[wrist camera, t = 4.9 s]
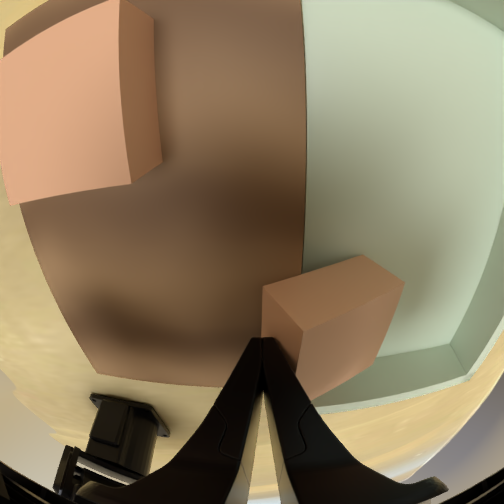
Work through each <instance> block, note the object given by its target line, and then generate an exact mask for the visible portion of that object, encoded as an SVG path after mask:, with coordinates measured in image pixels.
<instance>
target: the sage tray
mask: <svg viewBox="0 0 504 504" xmlns="http://www.w3.org/2000/svg"><path fill="white" fill-rule="evenodd" d="M300 3H301V15H302V29H303V46H304V68H305V104H306V167H305V206H304V230H303V250H302V266H301V274H304V273H307V272H311V271H314V270H317V269H320V268H323V267H326V266H329V265H332V264H335V263H339V262H342V261H345V260H348V259H351V258H354V257H357V256H360V255H365V256H366V257H368V258H369V259H371V260H372V261H374V262H375V263H377V264H378V265H380V266H381V267H383V268H384V269H386V270H387V271H389V272H390V273H392V274H393V275H395V276H396V277H398V278H399V279H401V280H402V281H404V282H405V285H404V288H403V291H402V294H401V297H400V300H399V302H398V305H397V308H396V311H395V313H394V316H393V318H392V321H391V323H390V326H389V328H388V331H387V333H386V336H385V338H384V340H383V343H382V345H381V347H380V350H379V352H378V354H377V356H376V358H375V361H374V363H373V365H371V366H370V367H368V368H367V369H365V370H363V371H362V372H360V373H359V374H357V375H355V376H354V377H352V378H351V379H349V380H347V381H345V382H344V383H342V384H340V385H339V386H337V387H335V388H333V389H332V390H330V391H328V392H326V393H324V394H323V395H321V396H319V397H317V398H315V399H313V400H311V404H313V405H314V407H315V409H316V410H317V412H318V413H319V414H329V413H337V412H344V411H351V410H357V409H363V408H369V407H374V406H379V405H384V404H389V403H394V402H398V401H402V400H406V399H410V398H414V397H418V396H422V395H425V394H429V393H432V392H436V391H439V390H442V389H445V388H448V387H451V386H454V385H457V384H460V383H463V382H466V381H468V380H470V379H471V377H472V376H473V375H474V373H475V372H476V371H477V369H478V368H479V366H480V365H481V364H482V362H483V361H484V359H485V358H486V356H487V355H488V353H489V352H490V350H491V349H492V347H493V346H494V344H495V343H496V341H497V339H498V338H499V336H500V334H501V333H502V331H503V329H504V0H300Z"/></svg>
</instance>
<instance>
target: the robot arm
mask: <svg viewBox="0 0 504 504" xmlns="http://www.w3.org/2000/svg"><path fill="white" fill-rule="evenodd" d="M263 392H264V400H265V406H266V413H267V419H268V426H269V432H270V438H271V445H272V451H273V457H274V463H275V470H276V476H277V482H278V486H279V487H278V488H279V494H280V500H281V504H431V500H430V499H431V498H433V497H436V496H438V495H440V494H442V493H444V492H447V491H448V490H449V489H448V488H447V486H446V485H445V484H444V483H443V482H442V481H440V480H439V479H438V478H437V477H430V478H427V479H424V480H422V481H419V482H416V483H413V484H402V483H398V482H396V481H394V480H392V479H390V478H388V477H386V476H384V475H382V474H380V473H378V472H376V471H374V470H372V469H370V468H369V467H367V466H365V465H363V464H362V463H360V462H359V461H358V460H357V459H355V458H354V457H353V456H352V455H351V453H350V452H349V451H348V450H347V449H346V448H345V447H344V445H343V444H342V443H341V442H340V441H339V440H338V438H337V437H336V436H335V435H334V434H333V433H332V431H331V430H330V429H329V427H328V426H327V425H326V424H325V422H324V421H323V419H322V418H321V416H320V415H319V413H318V412H317V410H316V409H315V407H314V405H313V404H311V400H310V399H309V397H308V395H307V394H306V392H305V390H304V389H303V387H302V385H301V384H300V382H299V380H298V378H297V377H296V375H295V373H294V372H293V370H292V368H291V366H290V365H289V363H288V361H287V360H286V358H285V356H284V354H283V353H282V351H281V349H280V347H279V346H278V344H277V342H276V341H275V339H274V338H273V337H263V338H261V337H252V338H251V339H250V340H249V342H248V344H247V346H246V348H245V349H244V351H243V353H242V355H241V357H240V358H239V360H238V362H237V364H236V366H235V367H234V369H233V371H232V373H231V375H230V376H229V378H228V380H227V382H226V383H225V385H224V387H223V389H222V390H221V392H220V394H219V396H218V397H217V399H216V401H215V403H214V405H213V406H212V408H211V409H210V411H209V413H208V414H207V416H206V417H205V419H204V420H203V422H202V424H201V425H200V426H199V428H198V429H197V430H196V431H195V433H194V434H193V435H192V436H191V438H190V439H189V440H188V441H187V442H186V444H185V445H184V446H183V447H182V448H181V450H180V451H179V452H178V453H177V454H176V455H175V457H174V458H173V459H172V460H171V461H170V462H168V463H167V464H166V465H165V466H163V467H162V468H160V469H158V470H156V471H155V472H153V473H151V474H149V472H150V467H151V462H152V457H153V452H154V448H155V443H156V438H157V436H161V437H170V432H169V431H168V429H167V428H166V427H165V425H164V424H163V422H162V421H161V420H160V418H159V417H158V415H157V414H156V412H155V411H154V409H153V408H152V407H151V406H149V405H145V404H139V403H133V402H127V401H122V400H117V399H112V398H108V397H103V396H99V395H95V394H91V395H90V397H89V399H90V400H91V401H92V402H93V403H94V405H95V406H96V407H97V408H98V412H97V414H96V417H95V420H94V423H93V426H92V429H91V432H90V434H89V437H90V438H89V441H88V444H87V448H86V451H85V452H83V451H81V449H79V448H77V447H76V446H75V447H74V448H73V447H70V446H68V445H66V446H65V449H64V452H63V455H62V458H61V461H60V464H59V467H58V470H57V474H56V477H55V481H54V484H53V489H54V491H55V492H56V493H55V492H53V491H51V490H49V489H47V488H45V487H43V486H41V485H40V484H38V483H36V482H34V481H33V480H31V479H29V478H27V477H26V476H24V475H22V474H20V473H18V472H17V471H16V470H14V469H12V468H11V467H9V466H8V465H6V464H5V463H3V462H2V461H0V504H247V501H248V495H249V489H250V488H249V487H250V482H251V476H252V469H253V463H254V456H255V449H256V442H257V435H258V428H259V421H260V413H261V406H262V398H263ZM77 462H79V463H81V464H83V465H86V466H87V467H90V468H92V469H94V470H96V471H99V472H101V473H103V474H106V475H108V476H111V477H113V478H116V479H119V480H121V481H124V482H127V483H129V485H125V484H122V483H119V482H117V481H114V480H112V479H109V478H106V477H104V476H102V475H99V474H97V473H95V472H93V471H90V470H88V469H86V468H81V467H79V466H77V465H76V463H77ZM439 504H504V468H502V469H500V470H499V471H497V472H496V473H494V474H492V475H491V476H489V477H488V478H486V479H484V480H483V481H481V482H479V483H477V484H475V485H474V486H472V487H470V488H468V489H467V490H465V491H463V492H461V493H459V494H457V495H455V496H453V497H451V498H450V499H447V500H445V501H443V502H441V503H439Z"/></svg>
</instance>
